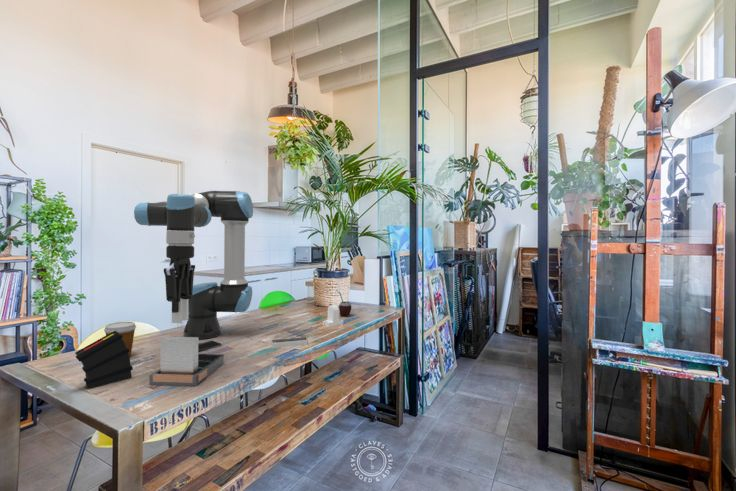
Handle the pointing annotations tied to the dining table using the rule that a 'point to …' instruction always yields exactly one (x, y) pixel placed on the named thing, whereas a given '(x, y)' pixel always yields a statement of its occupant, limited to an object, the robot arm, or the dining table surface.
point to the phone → (208, 345)
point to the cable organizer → (333, 317)
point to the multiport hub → (289, 342)
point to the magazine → (105, 360)
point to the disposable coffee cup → (123, 332)
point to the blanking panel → (179, 355)
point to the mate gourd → (344, 308)
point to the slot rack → (205, 368)
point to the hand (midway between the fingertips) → (179, 321)
